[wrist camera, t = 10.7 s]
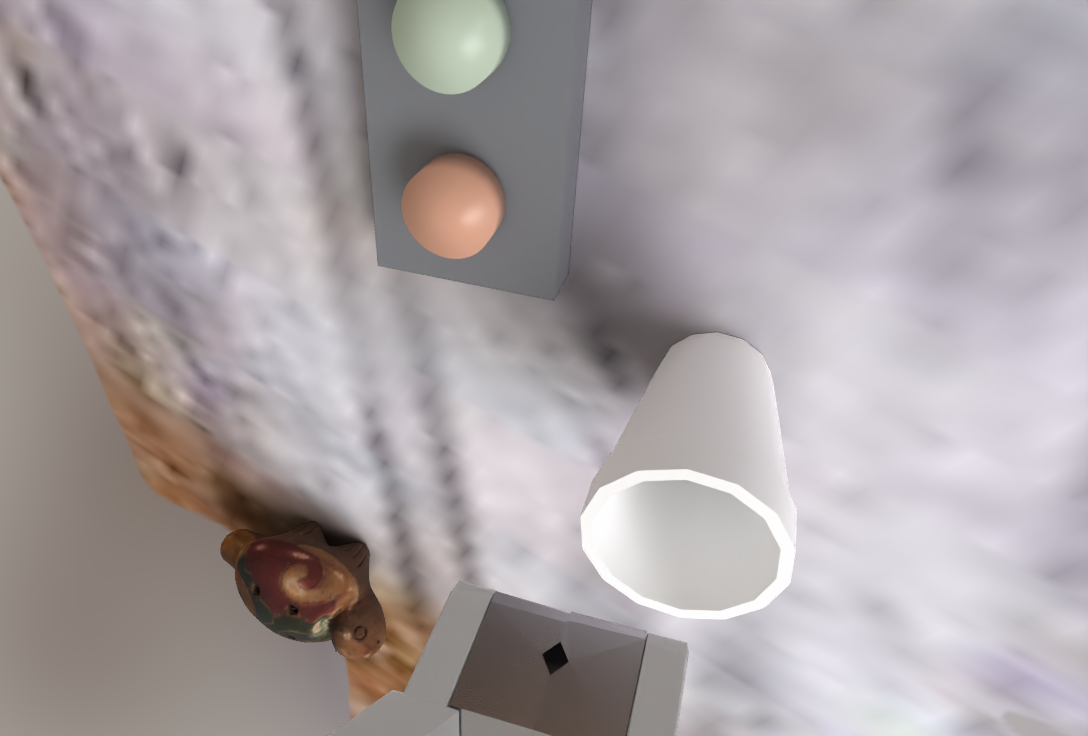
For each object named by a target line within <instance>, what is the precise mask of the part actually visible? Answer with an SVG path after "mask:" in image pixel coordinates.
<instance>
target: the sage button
mask: <svg viewBox="0 0 1088 736" xmlns="http://www.w3.org/2000/svg"><path fill="white" fill-rule="evenodd" d="M391 31H392V39H393V43H394V47H395V50H396V53H397V55H398V57H399V59H400V61H401V63H402V65H403V66H404V68H405V69H406V70H407V72H408V73H409V74H410V75H411V76H412V77H413V78H414V79H415V80H416V81H417V82H419V83H420V84H421V85H423V86H424V87H426V88H428V89H430V90H432V91H435V92H438V93H442V94H460V93H464V92H467V91H469V90H471V89H473V88H475V87H476V86H477V85H479V84H480V83H481V82H482V81H483V80H485V79H486V78H487V77H488V76H489V75H490V74H492V73H493V72H494V71H495V70H496V69H497V68H498V67H499V66H500V65H501V63H502V62H503V60H504V58H505V56H506V54H507V52H508V49H509V45H510V39H511V24H510V18H509V14H508V10H507V8H506V5H505V3H504V1H503V0H397V2H396V5H395V8H394V11H393V15H392V23H391Z"/></svg>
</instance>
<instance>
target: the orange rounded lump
mask: <svg viewBox="0 0 1088 736" xmlns="http://www.w3.org/2000/svg"><path fill="white" fill-rule="evenodd" d="M401 208H402V214H403V218H404V221H405V224H406V226H407V228H408V230H409V231H410V233H411V234H412V236H413V237H414V238H415V239H416V241H417V242H418V243H419V244H421V245H422V246H423V247H424V248H426V249H427V250H429V251H430V252H432V253H434V254H436V255H439V256H441V257H445V258H450V259H462V258H467V257H470V256H472V255H474V254H476V253H478V252H479V251H480V250H481V249H483V247H484V246H485V245H486V244H487V242H488V241H489V240H490V238H491V237H492V236H493V234H494V233H495V232H496V230H497V229H498V228H499V226H500V224H501V223H502V221H503V218H504V215H505V209H506V200H505V195H504V191H503V188H502V186H501V184H500V182H499V180H498V178H497V177H496V176H495V174H494V173H493V172H492V171H491V170H490V169H489V168H488V167H487V166H486V165H485V164H484V163H482V162H481V161H479V160H477V159H476V158H474V157H471V156H468V155H465V154H460V153H448V154H443V155H440V156H438V157H436V158H434V159H433V160H431V161H430V162H429V163H428V164H427V165H426V166H424V167H423V168H422V169H421V170H420V171H419V172H418V173H417V174H416V175H415V176H414V177H413V178H412V179H411V180H410V181H409V182H408V184H407V185H406V187H405V189H404V192H403V195H402V201H401Z"/></svg>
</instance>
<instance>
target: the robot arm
mask: <svg viewBox="0 0 1088 736" xmlns="http://www.w3.org/2000/svg"><path fill="white" fill-rule="evenodd" d="M646 634H647V631H645V630H641V629H637V628H633V627H629V626H625V625H621V624H617V623H614V622H610V621H606V620H602V619H598V618H594V617H590V616H586V615H582V614H578V613H574V612H566V611H563V610H559V609H556V608H552V607H549V606H546V605H542V604H539V603H535V602H532V601H528V600H525V599H521V598H518V597H514V596H511V595H507V594H504V593H500V592H497V591H495V590H491V589H488V588H484V587H480V586H477V585H473V584H469V583H466V582H462V581H459V582H458V583H457V584H456V586H455V587H454V588H453V590H452V591H451V592H450V594H449V597H448V599H447V601H446V603H445V605H444V607H443V609H442V612H441V614H440V616H439V618H438V620H437V622H436V625H435V627H434V629H433V631H432V633H431V635H430V637H429V640H428V642H427V644H426V646H425V648H424V650H423V653H422V655H421V657H420V659H419V661H418V663H417V665H416V668H415V670H414V672H413V674H412V676H411V678H410V680H409V683H408V685H407V687H406V689H405V691H404V693H402V692H398V691H394V690H392V691H391V692H389V693H388V694H386V695H385V696H383V697H382V698H381V699H379V700H378V701H376V702H375V703H373V704H372V705H371V706H369V707H368V708H366V709H365V710H363V711H362V712H361V713H359V714H358V715H356V716H355V717H354V718H352V719H351V720H349V721H348V722H347V723H345V724H344V725H342V726H341V727H339V728H338V729H336V730H335V731H334V732H332V733H331V734H329V735H328V736H676V735H677V728H678V721H679V714H680V708H681V701H682V694H683V688H684V681H685V674H686V667H687V661H688V654H689V651H688V643H686V642H682V641H678V640H674V639H670V638H666V637H662V636H658V635H654V634H650V633H648V634H647V636H646Z"/></svg>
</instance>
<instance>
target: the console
mask: <svg viewBox="0 0 1088 736" xmlns="http://www.w3.org/2000/svg"><path fill="white" fill-rule="evenodd" d="M503 1H504V3H505V5H506V8H507V10H508V14H509V18H510V24H511V39H510V45H509V49H508V52H507V54H506V56H505V58H504V60H503V62H502V63H501V65H500V66H499V67H498V68H497V69H496V70H495V71H494V72H493V73H492V74H490V75H489V76H488V77H487V78H486V79H485V80H483V81H482V82H481V83H480V84H479V85H477V86H476V87H475V88H473V89H471V90H469V91H467V92H464V93H460V94H442V93H438V92H435V91H432V90H430V89H428V88H426V87H424V86H423V85H421V84H420V83H419V82H417V81H416V80H415V79H414V78H413V77H412V76H411V75H410V74H409V73H408V72H407V70H406V69H405V68H404V66H403V65H402V63H401V61H400V59H399V57H398V55H397V53H396V50H395V47H394V43H393V39H392V31H391V23H392V15H393V11H394V8H395V5H396V2H397V0H357V8H358V21H359V34H360V46H361V59H362V71H363V84H364V96H365V109H366V122H367V134H368V147H369V159H370V172H371V184H372V197H373V210H374V222H375V235H376V247H377V260H378V266H382V267H387V268H392V269H397V270H402V271H407V272H412V273H417V274H422V275H427V276H432V277H437V278H442V279H448V280H453V281H458V282H463V283H468V284H473V285H478V286H483V287H488V288H493V289H498V290H503V291H508V292H513V293H518V294H523V295H528V296H533V297H538V298H543V299H548V300H553V301H554V300H555V298H556V296H557V294H558V292H559V291H560V289H561V287H562V285H563V283H564V281H565V279H566V277H567V275H568V272H569V260H570V249H571V238H572V226H573V215H574V203H575V192H576V180H577V169H578V157H579V146H580V134H581V123H582V111H583V100H584V88H585V77H586V65H587V54H588V43H589V31H590V20H591V8H592V0H503ZM448 153H460V154H465V155H468V156H471V157H474V158H476V159H477V160H479V161H481V162H482V163H484V164H485V165H486V166H487V167H488V168H489V169H490V170H491V171H492V172H493V173H494V174H495V176H496V177H497V178H498V180H499V182H500V184H501V186H502V188H503V191H504V195H505V200H506V209H505V215H504V218H503V221H502V223H501V224H500V226H499V228H498V229H497V230H496V232H495V233H494V234H493V236H492V237H491V238H490V240H489V241H488V242H487V244H486V245H485V246H484V247H483V249H481V250H480V251H479V252H478V253H476V254H474V255H472V256H470V257H467V258H462V259H450V258H445V257H441V256H439V255H436V254H434V253H432V252H430V251H429V250H427V249H426V248H424V247H423V246H422V245H421V244H419V243H418V242H417V241H416V239H415V238H414V237H413V236H412V234H411V233H410V231H409V230H408V228H407V226H406V224H405V221H404V218H403V214H402V208H401V201H402V195H403V192H404V189H405V187H406V185H407V184H408V182H409V181H410V180H411V179H412V178H413V177H414V176H415V175H416V174H417V173H418V172H419V171H420V170H421V169H422V168H423V167H424V166H426V165H427V164H428V163H429V162H430V161H431V160H433V159H434V158H436V157H438V156H440V155H443V154H448Z"/></svg>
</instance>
